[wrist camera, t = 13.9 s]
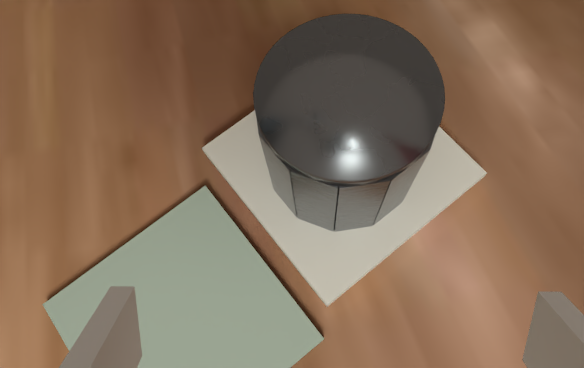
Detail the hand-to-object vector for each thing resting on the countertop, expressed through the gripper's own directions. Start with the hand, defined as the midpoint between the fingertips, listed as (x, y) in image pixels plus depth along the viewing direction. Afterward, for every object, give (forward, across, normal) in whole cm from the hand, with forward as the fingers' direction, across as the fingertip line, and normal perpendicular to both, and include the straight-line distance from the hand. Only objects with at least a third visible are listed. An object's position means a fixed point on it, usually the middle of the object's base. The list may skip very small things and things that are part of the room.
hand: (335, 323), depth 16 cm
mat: (+15, -9, -11) cm, 20 cm away
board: (+22, +2, -2) cm, 22 cm away
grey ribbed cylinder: (+21, +2, -1) cm, 21 cm away
